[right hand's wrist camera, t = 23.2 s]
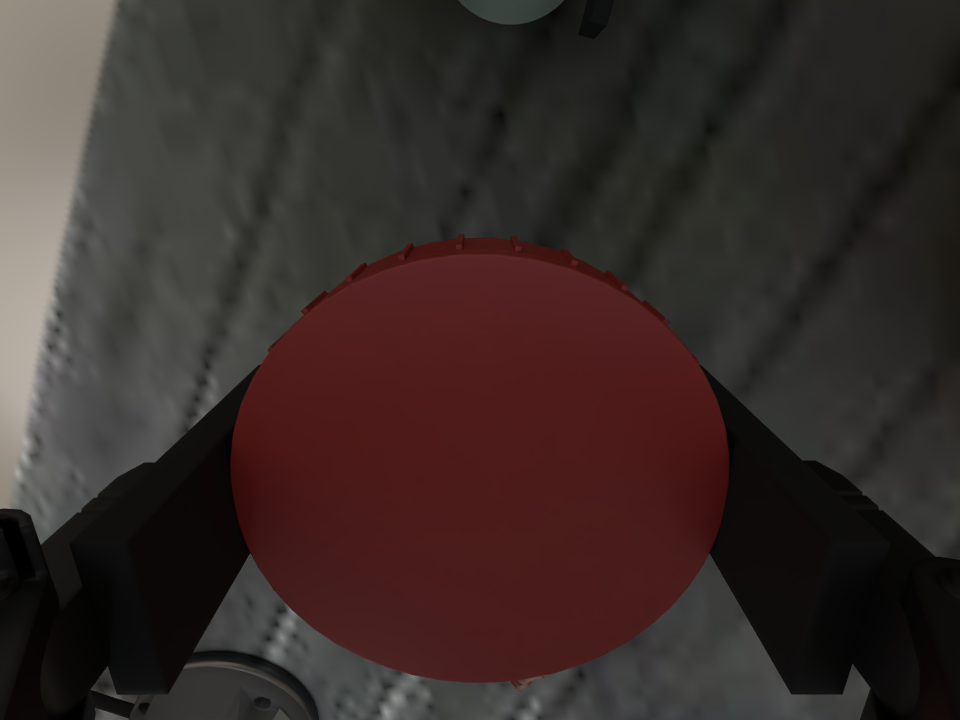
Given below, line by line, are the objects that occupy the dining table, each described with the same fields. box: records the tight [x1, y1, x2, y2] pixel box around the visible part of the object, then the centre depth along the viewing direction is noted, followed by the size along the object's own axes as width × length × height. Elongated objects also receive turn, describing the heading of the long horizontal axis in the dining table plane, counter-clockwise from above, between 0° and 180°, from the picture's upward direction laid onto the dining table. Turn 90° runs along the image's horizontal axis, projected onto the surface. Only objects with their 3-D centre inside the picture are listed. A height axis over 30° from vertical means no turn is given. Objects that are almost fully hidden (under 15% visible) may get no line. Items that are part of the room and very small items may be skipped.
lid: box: [230, 234, 730, 683], centre depth 11 cm, size 9×9×2 cm
